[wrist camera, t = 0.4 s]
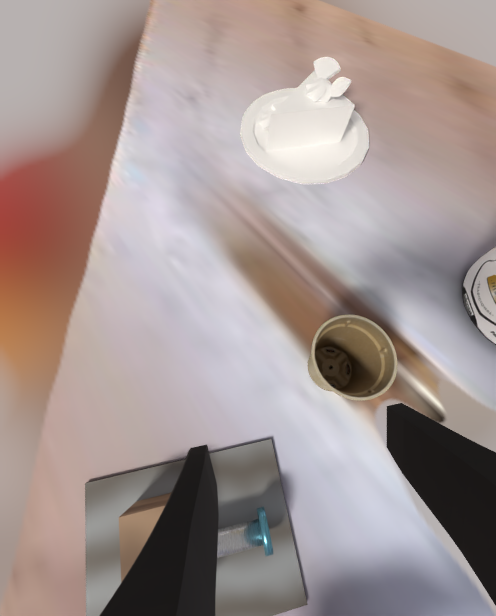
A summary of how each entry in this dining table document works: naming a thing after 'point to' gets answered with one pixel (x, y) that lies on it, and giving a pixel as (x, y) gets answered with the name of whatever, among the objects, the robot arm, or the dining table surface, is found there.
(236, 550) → the pin
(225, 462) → the hitch block
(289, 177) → the dish
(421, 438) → the robot arm
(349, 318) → the flower pot
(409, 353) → the dining table surface
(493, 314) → the milk container
